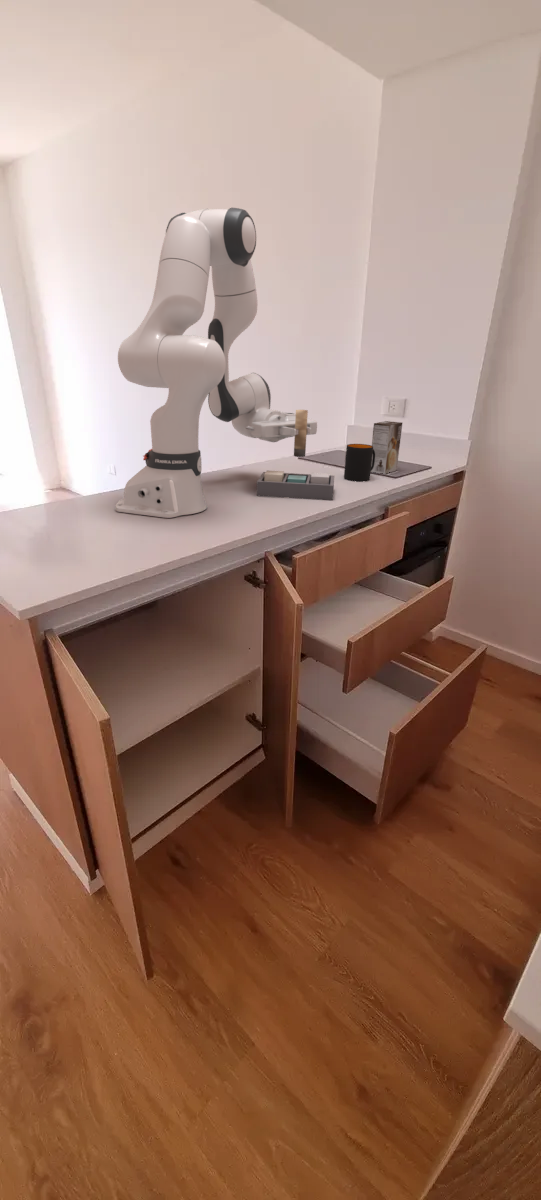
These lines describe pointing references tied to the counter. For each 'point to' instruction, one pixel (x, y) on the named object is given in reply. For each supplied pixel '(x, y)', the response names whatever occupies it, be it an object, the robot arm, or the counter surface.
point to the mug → (359, 462)
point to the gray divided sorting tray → (295, 488)
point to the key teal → (296, 479)
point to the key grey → (319, 478)
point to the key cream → (274, 476)
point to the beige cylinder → (300, 433)
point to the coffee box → (386, 446)
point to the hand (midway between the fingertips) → (303, 431)
